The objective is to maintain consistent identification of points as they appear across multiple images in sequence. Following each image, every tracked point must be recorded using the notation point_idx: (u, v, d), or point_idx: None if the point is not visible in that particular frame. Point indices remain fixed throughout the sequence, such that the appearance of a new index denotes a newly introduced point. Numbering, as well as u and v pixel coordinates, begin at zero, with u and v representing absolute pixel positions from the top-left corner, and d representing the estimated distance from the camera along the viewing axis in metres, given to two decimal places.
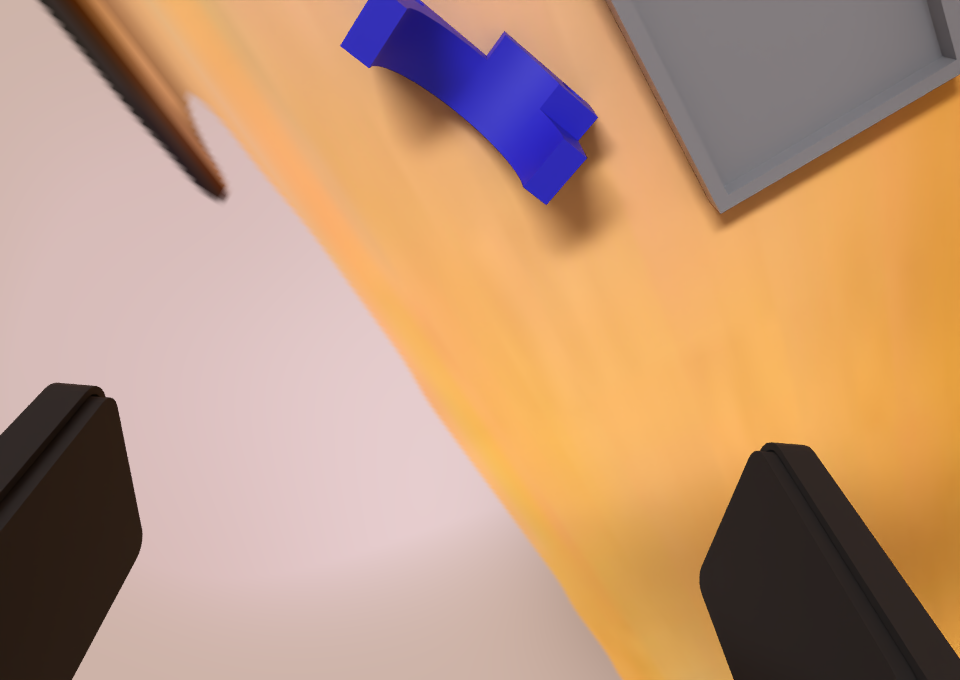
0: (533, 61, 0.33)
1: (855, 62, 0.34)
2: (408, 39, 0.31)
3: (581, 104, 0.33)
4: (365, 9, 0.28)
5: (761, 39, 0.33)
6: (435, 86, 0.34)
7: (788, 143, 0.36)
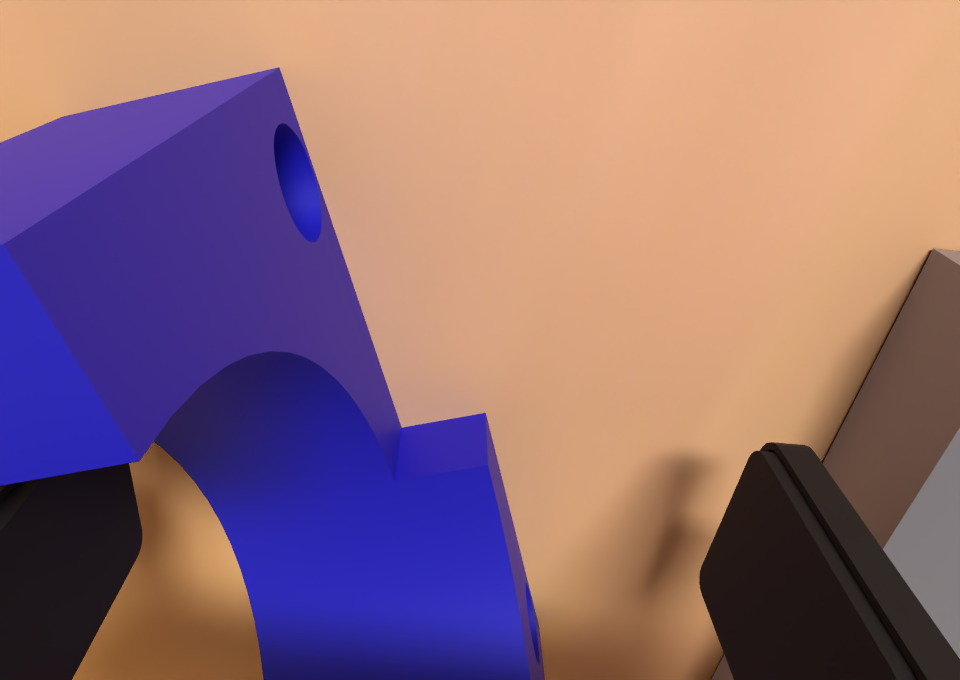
0: (506, 564, 0.11)
1: None
2: None
3: None
4: None
5: None
6: (196, 452, 0.10)
7: None
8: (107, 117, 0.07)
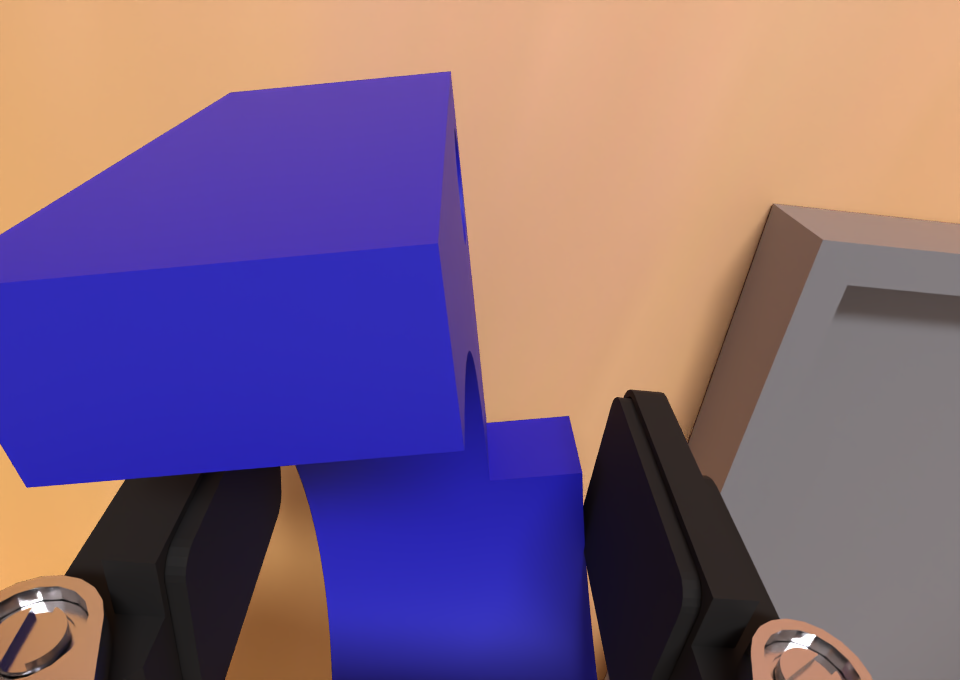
0: (582, 569, 0.11)
1: None
2: None
3: None
4: (245, 277, 0.04)
5: (840, 609, 0.18)
6: None
7: None
8: (301, 105, 0.08)
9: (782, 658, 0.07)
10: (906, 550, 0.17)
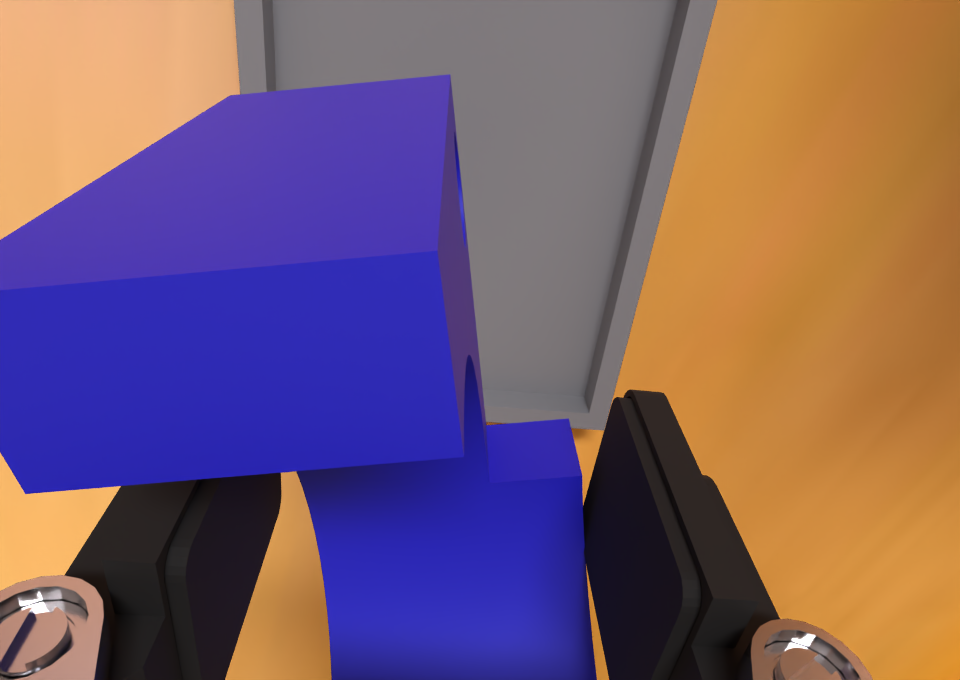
0: (582, 572, 0.11)
1: (501, 343, 0.26)
2: None
3: None
4: (245, 284, 0.04)
5: None
6: None
7: None
8: (301, 108, 0.08)
9: (782, 658, 0.07)
10: None
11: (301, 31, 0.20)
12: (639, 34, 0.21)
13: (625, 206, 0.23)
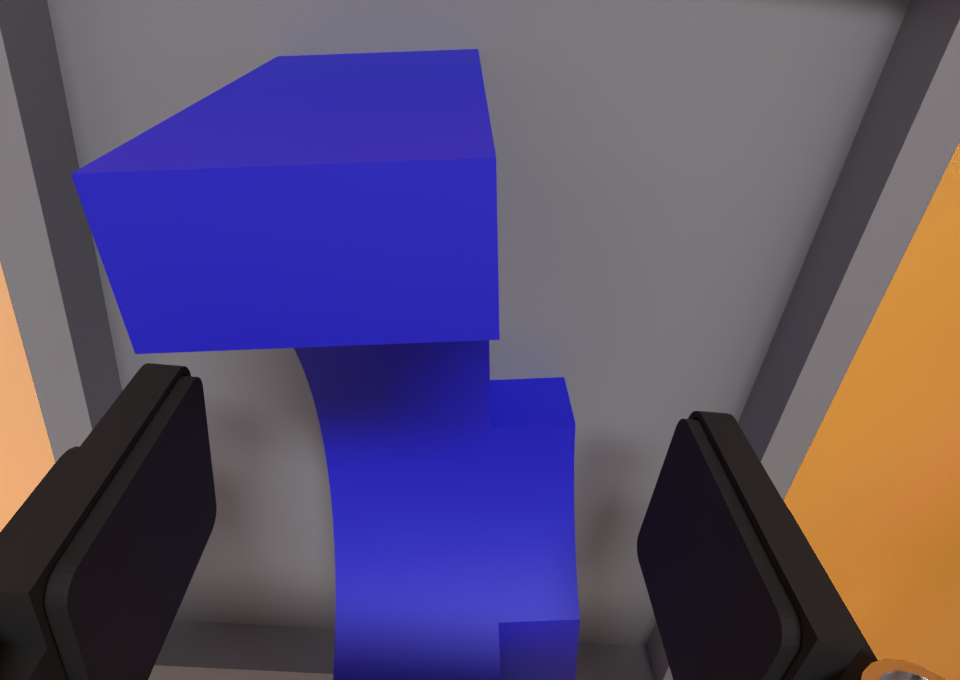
0: (570, 515, 0.12)
1: None
2: None
3: (573, 667, 0.13)
4: (341, 177, 0.05)
5: None
6: (328, 376, 0.11)
7: (332, 623, 0.17)
8: (348, 67, 0.09)
9: None
10: None
11: (120, 77, 0.10)
12: (813, 90, 0.10)
13: (746, 387, 0.13)
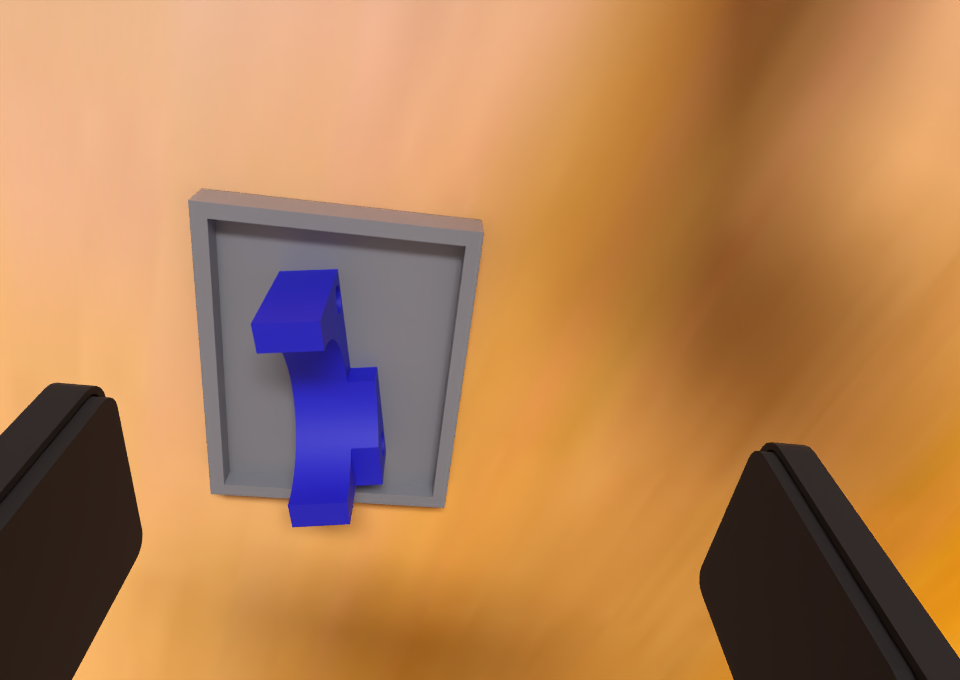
0: (376, 412, 0.36)
1: None
2: None
3: (380, 468, 0.37)
4: (294, 324, 0.29)
5: None
6: (293, 364, 0.34)
7: None
8: (299, 281, 0.32)
9: None
10: None
11: (235, 277, 0.34)
12: (441, 278, 0.34)
13: (445, 370, 0.37)
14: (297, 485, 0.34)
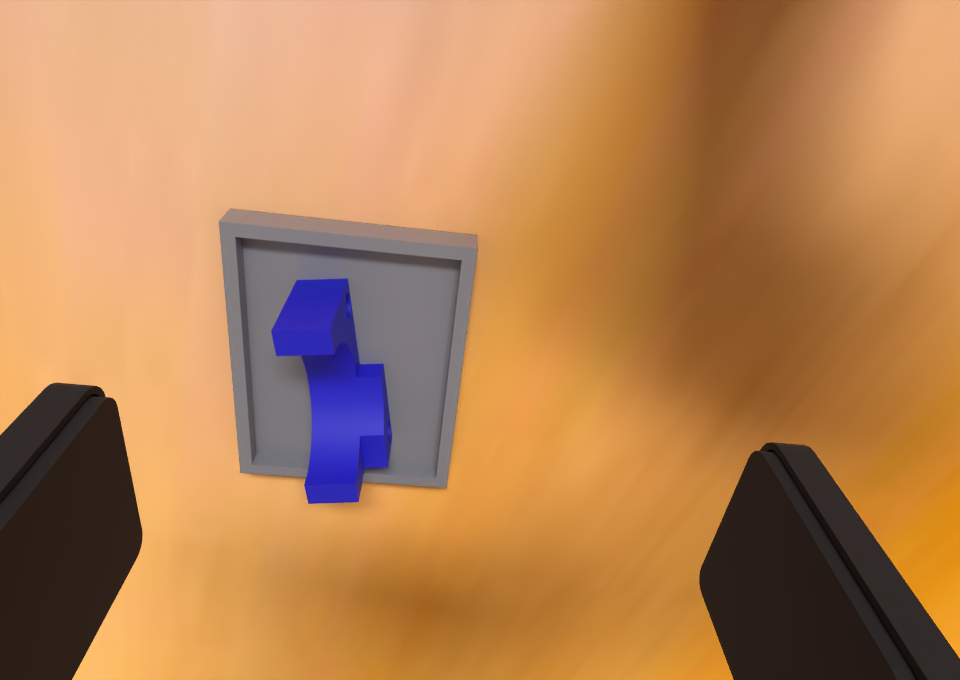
0: (382, 404, 0.41)
1: None
2: None
3: (385, 453, 0.41)
4: (308, 331, 0.33)
5: None
6: (309, 362, 0.39)
7: None
8: (313, 290, 0.37)
9: None
10: None
11: (260, 285, 0.38)
12: (441, 287, 0.39)
13: (446, 367, 0.41)
14: (312, 467, 0.39)
